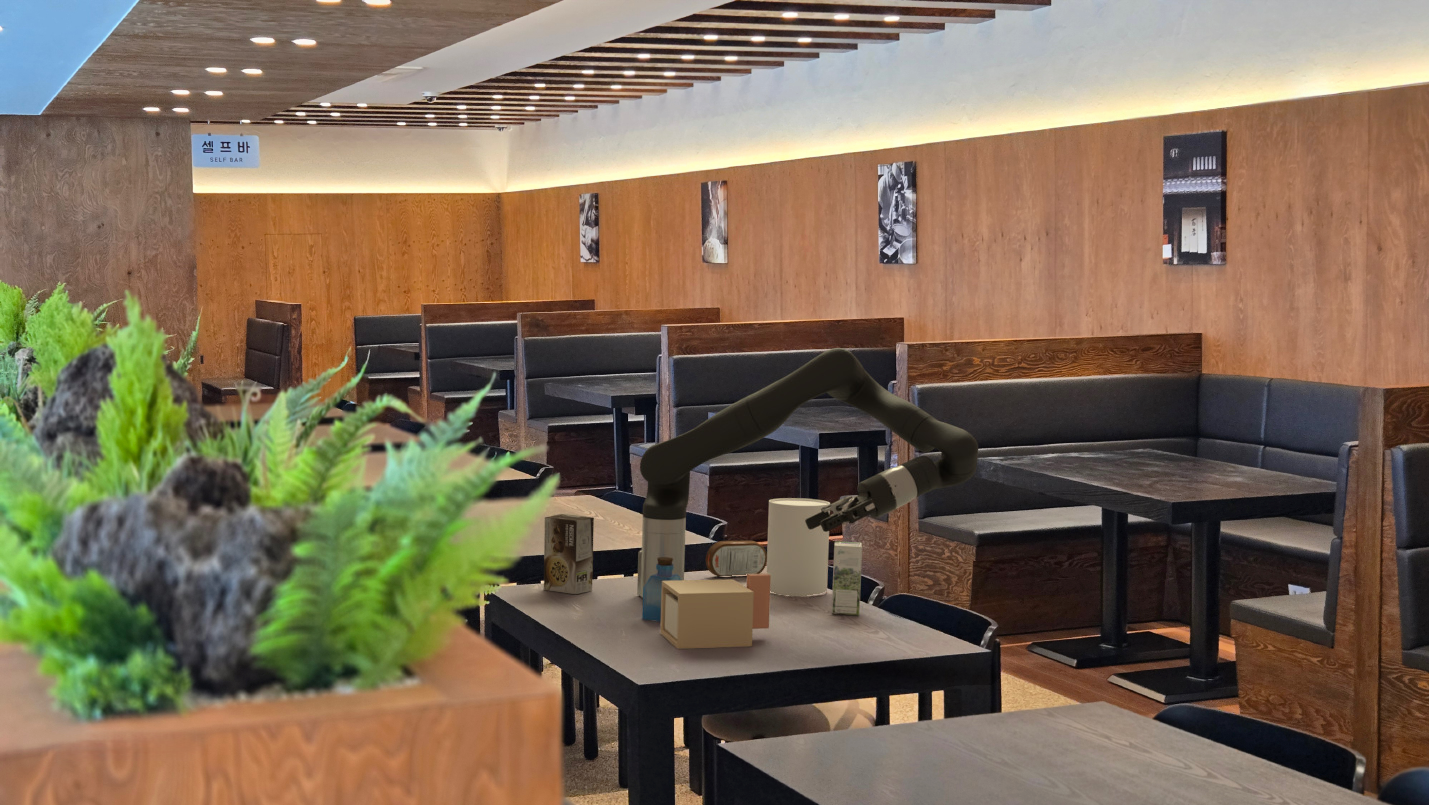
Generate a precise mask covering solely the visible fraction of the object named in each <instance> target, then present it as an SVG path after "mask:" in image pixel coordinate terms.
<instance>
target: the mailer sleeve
mask: <svg viewBox="0 0 1429 805" xmlns="http://www.w3.org/2000/svg"><path fill="white" fill-rule="evenodd" d="M666 594H674V595H676V596H677V597H678V617H677V639H676V638H675V637H673V636H672V635H671V634H670V633H669V632H668V631H667V630H665V600H666ZM753 597H754V592H753V591H751V590H750V589H748V588H747V586H744V585H743V584H741V583H740V582H738V581H737V580H735V579H731V578H729V579H728V578H727V579H693V580H692V579H691V580H689V579H687V580H685V579H684V580H676V581H662V595H661V622H660V632H659V633H660V635H662V636H663V637H664V638H665V640H668V642H669V643H670V644H671V645H673V646H674V647H675V648H676V649H677V650H679V649H680V650H681V649H682V650H683V649H685V650H686V649H710V648H714V649H715V648H740V647H753V629H752V628H753Z"/></svg>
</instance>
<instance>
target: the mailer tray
mask: <svg viewBox="0 0 1429 805" xmlns="http://www.w3.org/2000/svg"><path fill="white" fill-rule="evenodd" d="M770 579H771V575H769V574H767V573H760V574H747V577H746V588H748V589H750V590H751V591H753V592H754V597H753V628H752V630H758V629H759V630H761V629H769V628H770V606H771V593H770ZM677 617H678V597H677V596H676V595H674V594H666V600H665V630H667V631H668V632H669V633H670V634H671V635H672V636H673V637H675V638H676V639H677Z"/></svg>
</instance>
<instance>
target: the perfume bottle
mask: <svg viewBox="0 0 1429 805" xmlns="http://www.w3.org/2000/svg"><path fill="white" fill-rule="evenodd" d="M657 560H658V564H656V569H657V570H658V573H657V574H654V575H651V576H650V578H649V580H648V581H647V583H646V584H645V586H644V588H643V598H642V611H641V612H642V617H641V618H642V620H647V621H653V622H654V621H655V622H660V623H661V595H662V581H676V580H681V579H680V577H679V575H677V574H672V570H673V567H674V565H673V564H672V561H673V558H670V557H659V558H657Z"/></svg>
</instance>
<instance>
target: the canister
mask: <svg viewBox="0 0 1429 805" xmlns="http://www.w3.org/2000/svg"><path fill="white" fill-rule="evenodd" d="M830 504H831V502H829V501H826V500H822V499H815V498H814V499H813V498H802V497H801V498H800V497H797V498H795V497H794V498H792V497H787V498H785V497H783V498H781V497H780V498H773V499H772V498H771V499H769V500H768V517H767V518H768V520H767V546H766V547H767V550H766V553H767V563H766V574H769V575H771V579H770V591H771V592H774V593H776V594H781V595H789V596H807V595H813V594H820V593H823V592H825V591H827V592H828V576H829V574H828V573H829V572H828V570H829V546H830V544H829V543H830V541H829V540H830V531H828V532H824V531H823V529H822V527H821V525H820V526H818V527H816V528H814V529H808V527H807V525H806V522H805V520H806V519H807V518H809V517H811V516H813V515H815V514H817V513H820V512H821V509H822V508H823V507H826V506H828V505H830ZM828 512H829V514H831V513H830V512H831V511H828Z"/></svg>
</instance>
